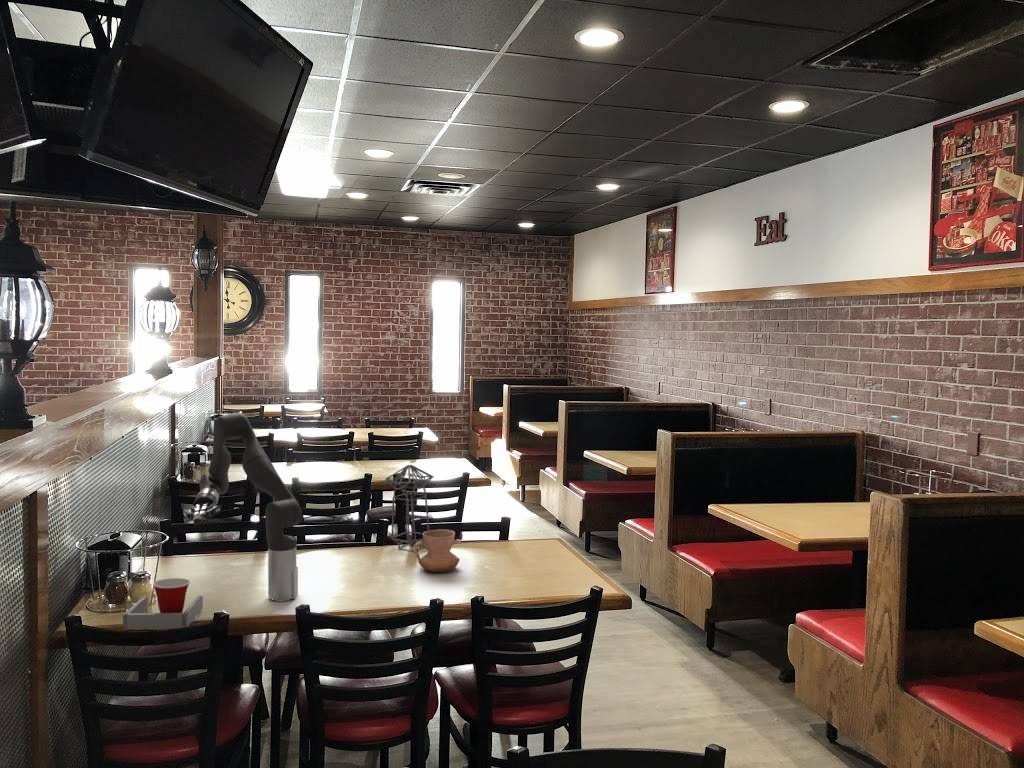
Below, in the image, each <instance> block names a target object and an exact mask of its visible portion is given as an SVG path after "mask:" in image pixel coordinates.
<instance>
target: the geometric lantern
mask: <svg viewBox="0 0 1024 768" xmlns="http://www.w3.org/2000/svg"><path fill="white" fill-rule="evenodd" d="M407 472H408V473H407ZM421 473H422V474H424V475H422V474H421ZM395 475H396V476H395ZM406 475H408V481H404V479H405V476H406ZM394 476H395V477H394ZM411 478H412V479H411ZM418 478H419V479H418ZM434 478H435V477H434V475H432V474H430V473H428V472H426V471H424V470H423V469H421V468H419V467H417V466H415V465H412V464H407V465H406V466H404V467H403V468H401V469H399V470H397V471H396V472H394V473H392V474H391V475H389V476H387V477H386V478H385V479H384V480H385V482H386V483H388V484H389V485H390V486H391V487H392V488H393V489H394V492H393V497H392V501H391V502H392V504H391V505H392V509H391V510H392V511H391V512H392V514H391V515H392V517H391V519H392V520H391V536H390V537H391V538H390V539H391V540H392V541H394V542H396V543H397V545H398V550H404V551H408V550H409V552H412V551H413V552H414V545H415V544H416V543H417V542H419V541H422V542H424V539H423V538H420V539H417V535H416V534H418V535H421V536H423V533H424V532H416V524H415V523H416V522H415V513H414V512H415V510H414V509H415V508H414V501H417V500H419V499H424V503H425V513H426V523H427V526H426V527H427V531H431V529H430V524H429V523H430V522H429V514H428V513H429V511H428V509H429V508H428V497H427V496H428V494H427V490H426V486H427V484H428V483H430V481H431V480H432V479H434ZM398 480H399V481H398ZM412 480H413V481H412ZM411 481H412V482H411ZM402 484H404V485H402ZM410 484H413V485H414V487H413V490H412V491H411V492H407V490H406V489H405V487H406V486H408V485H410ZM397 486H399V487H397ZM416 488H417V489H416ZM420 489H423V493H417V492H418V491H419V490H420ZM396 490H401V491H402V494H398V495H396ZM415 490H416V491H415ZM414 491H415V492H414ZM409 495H410V499H409ZM416 495H418V496H421V497H418V498H414V497H415V496H416ZM399 496H405V498H406V499H405V498H400V497H399ZM396 500H402V501H406V507H405V511H406V512H405V513H406V514H405V532H403V533H400V534H396V535H394V522H395V519H394V518H395V517H394V515H395V501H396ZM409 502H410V503H409ZM409 505H410V507H409ZM409 509H410V510H409ZM410 511H411V513H410ZM410 514H411V531H410ZM421 533H422V534H421ZM405 534H406V537H407V539H406V540H403V539H397V538H396V537H400V536H403V535H405ZM410 534H411V535H410ZM413 535H414V539H412V537H413ZM403 543H406V544H403ZM405 546H406V547H411V549H406V548H403V547H405ZM418 547H419V548H417V551H419V550H422V549H424V548H425V547H424V546H422V545H419V546H418ZM421 548H422V549H421ZM418 549H419V550H418Z"/></svg>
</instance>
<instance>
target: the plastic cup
mask: <svg viewBox="0 0 1024 768" xmlns="http://www.w3.org/2000/svg"><path fill="white" fill-rule="evenodd" d="M190 584H191V579H187V578H180V577H179V578H178V577H173V578H170V577H169V578H164V579H163V578H162V579H158V580H156V581H154V582H152V586H153V588H154V592H155V595H156V599H157V604H158V610H159V613H184V612H183V611H184V609H185V608H184V607H185V601H186V596H187V592H188V588H189V585H190Z"/></svg>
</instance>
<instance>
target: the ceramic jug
mask: <svg viewBox="0 0 1024 768" xmlns="http://www.w3.org/2000/svg"><path fill="white" fill-rule="evenodd" d="M422 533H423V535H422V537H423V539H424V540H421V541H418V542H416V544H415V543H414V544H415V545H413V546H414V547H413V550H414V551H413V554H414V555H415V557H416V559H417V561H418V564H419V565H420V567H421V568H423V570H425V571H428V572H432V573H445V572H449V571H452V570H454V569H455V568H456V567H457V566H458V564H459V562H460V558H459V557H457V555H455V554H454V553H452V552H451V550H452V547H453V546H454V545H455V544H462V540H461V539H459V538H458V539H455V537H456V532H455V531H454V530H450V529H434V530H433V529H432V530H431V529H430V531H428V530H426V531H423V532H422ZM422 541H424V542H422ZM419 545H422V546H421V547H423V546H424V548H425V549H426V550H427V553H426V554H424V555H423V556H422V557H420V554H419V552H418V551H419V550H417V549H419V548H418V547H420V546H419Z"/></svg>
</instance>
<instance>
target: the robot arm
mask: <svg viewBox="0 0 1024 768" xmlns="http://www.w3.org/2000/svg"><path fill="white" fill-rule="evenodd" d="M238 439H241V440H242V441H243V443H244V447H245V448H244V451H243V456H242V457H243V458H242V465H241V466H242V469H243V471H244V473H245V475H246V477H247V478H248V480H249V481H250V483H252V485H254V486H255V487H256V488H257V489H260V490H261V491H263V492H265V493H266V494H268V495H269V496H271V498H273V499H274V500H275V501H271V502H268V504H267V505H266V506H265V513H264V516H265V517H264V518H265V532H266V533H265V535H266V536H265V538H266V542H267V570H268V571H267V572H268V574H267V581H268V585H267V587H268V588H267V591H268V592H267V595H268V597H269V598H270V599H273V600H288V601H291V600H290V599H295V600H296V598H297V596H298V594H299V575H298V574H299V571H298V570H299V567H298V566H297V539H296V538H295V537H294V536H292V535H286V534H284V529H285V528H289V527H293V526H298V525H299V524H301V522H302V520H303V511H302V508H301V506H300V503H299V502H298V499H296V497H295V496H294V494H293V493H292V492H291V491H290V490H289V488H288V487H287V486H286V484H285V483H284V481H283V480H282V478H281V477H280V475H279V473H278V472H277V470H276V468H275V467H274V465H273V463H272V462H271V461H272V460H270V457H269V456H268V455H267V454H266V452H265V450H264V448H263V447H262V444H261V443H260V441H259V440H258V437H257V435H256V433H255V431H254V430H253V426H252V425H251V423H250V421H249V419H248V417H247V416H246V414H244V413H242V412H236V413H235V412H234V413H227V414H223V415H220V416H218V417H217V418H216V420H215V422H214V427H213V441H212V454H211V459H210V462H209V466H208V472H206V473H203V475H202V476H201V477H200V480H199V492H198V493H197V495H196V498H195V499H194V502H193V504H192V506H191V507H190V508H189V509H186V508H185V509H183V510H182V513H183V517H184V518H185V519H188V520H190V521H193V524H195V525H201V523H203V521H204V520H205V519H207V520H208V519H211V518H212V517H214V516H216V515H218V514H220V513H221V507H220V505H217V504H218V502H219V498H220V497H221V495H225V494H226V493H227V491H228V490H229V486H230V485H229V484H230V480H229V470H230V466H231V462H232V456H231V453H230V451H229V450H228V449H227V447H226V445H225V444H226V442H227V441H233V440H238ZM268 597H267V598H268ZM269 598H268V599H269ZM270 599H269V600H270Z"/></svg>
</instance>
